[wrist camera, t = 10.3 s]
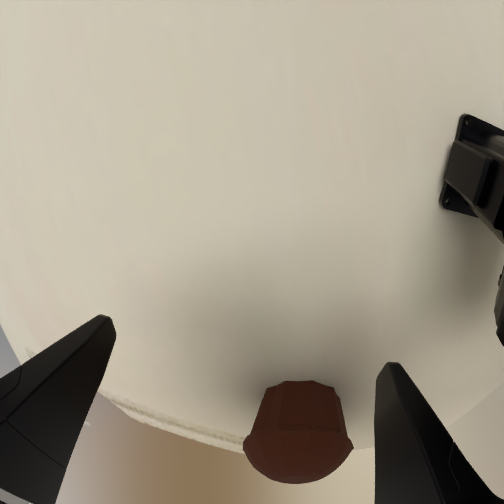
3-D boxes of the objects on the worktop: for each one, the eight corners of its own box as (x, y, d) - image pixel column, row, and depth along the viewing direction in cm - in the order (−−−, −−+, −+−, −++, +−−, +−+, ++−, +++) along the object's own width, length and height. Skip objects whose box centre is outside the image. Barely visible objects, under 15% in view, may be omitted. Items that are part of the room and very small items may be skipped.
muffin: (310, 427, 35) (305, 494, 26) (235, 404, 33) (219, 477, 25) (372, 389, 28) (378, 471, 20) (287, 358, 27) (276, 456, 19)
